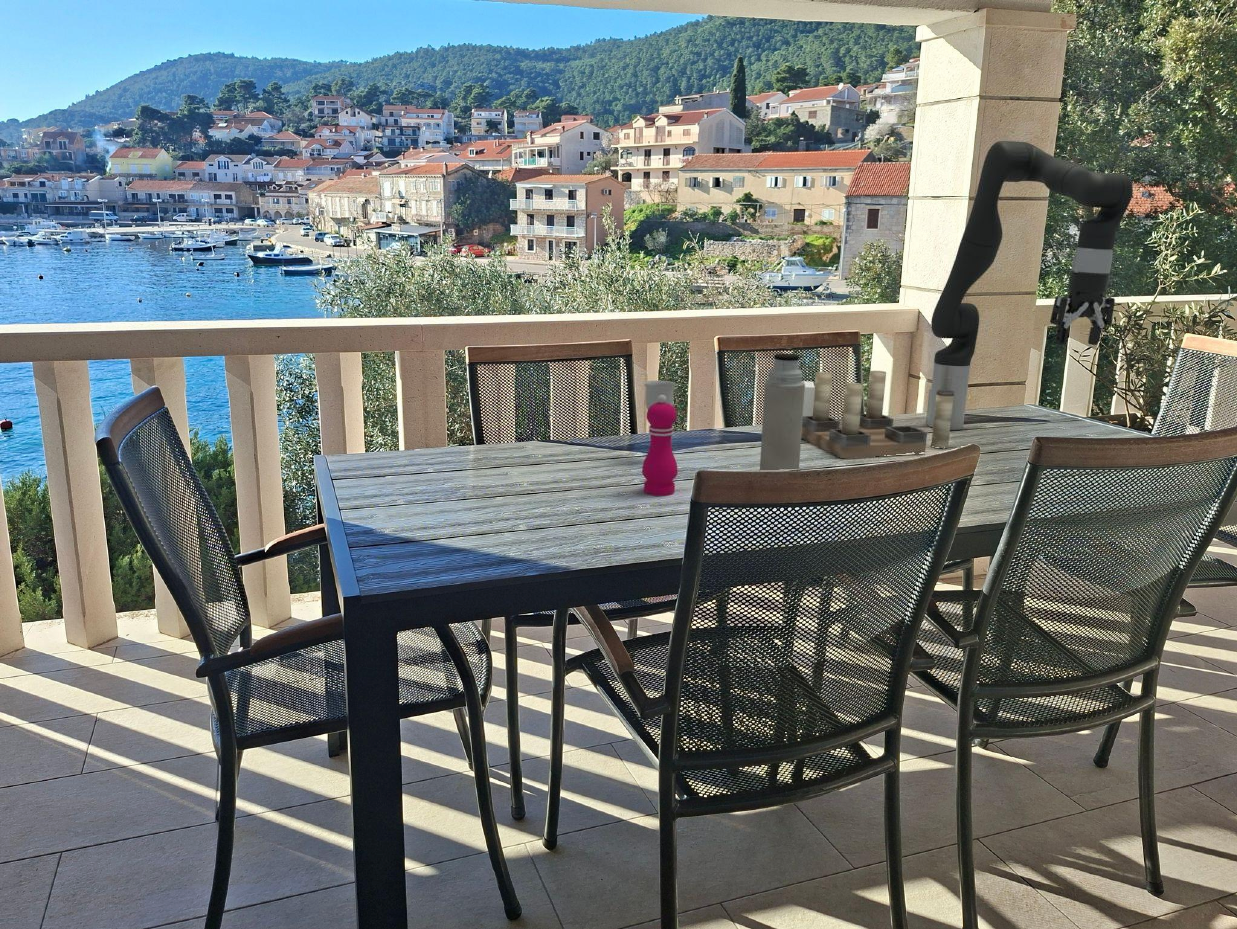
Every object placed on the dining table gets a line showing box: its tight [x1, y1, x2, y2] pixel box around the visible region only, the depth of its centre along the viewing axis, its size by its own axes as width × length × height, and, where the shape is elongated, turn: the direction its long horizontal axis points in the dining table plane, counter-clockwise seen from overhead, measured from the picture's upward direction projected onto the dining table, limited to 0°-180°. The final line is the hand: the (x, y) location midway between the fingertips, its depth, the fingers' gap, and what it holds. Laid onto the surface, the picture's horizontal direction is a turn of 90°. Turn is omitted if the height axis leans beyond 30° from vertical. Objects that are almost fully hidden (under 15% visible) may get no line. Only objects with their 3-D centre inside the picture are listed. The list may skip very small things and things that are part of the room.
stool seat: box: [801, 370, 928, 459], centre depth 232 cm, size 22×22×17 cm
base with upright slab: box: [802, 380, 815, 416], centre depth 250 cm, size 9×9×12 cm
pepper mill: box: [641, 395, 679, 497], centre depth 191 cm, size 7×7×20 cm
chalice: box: [643, 380, 677, 411], centre depth 214 cm, size 7×7×18 cm
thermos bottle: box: [759, 353, 805, 471], centre depth 194 cm, size 8×8×28 cm
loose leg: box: [930, 390, 954, 449], centre depth 233 cm, size 4×4×14 cm
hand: (1076, 344), depth 209 cm, fingers open, 8 cm apart
